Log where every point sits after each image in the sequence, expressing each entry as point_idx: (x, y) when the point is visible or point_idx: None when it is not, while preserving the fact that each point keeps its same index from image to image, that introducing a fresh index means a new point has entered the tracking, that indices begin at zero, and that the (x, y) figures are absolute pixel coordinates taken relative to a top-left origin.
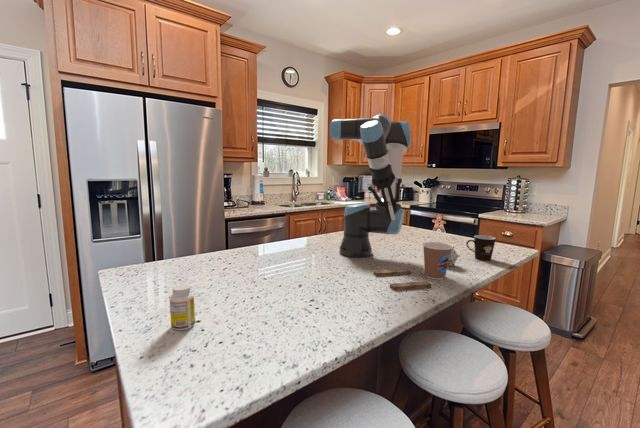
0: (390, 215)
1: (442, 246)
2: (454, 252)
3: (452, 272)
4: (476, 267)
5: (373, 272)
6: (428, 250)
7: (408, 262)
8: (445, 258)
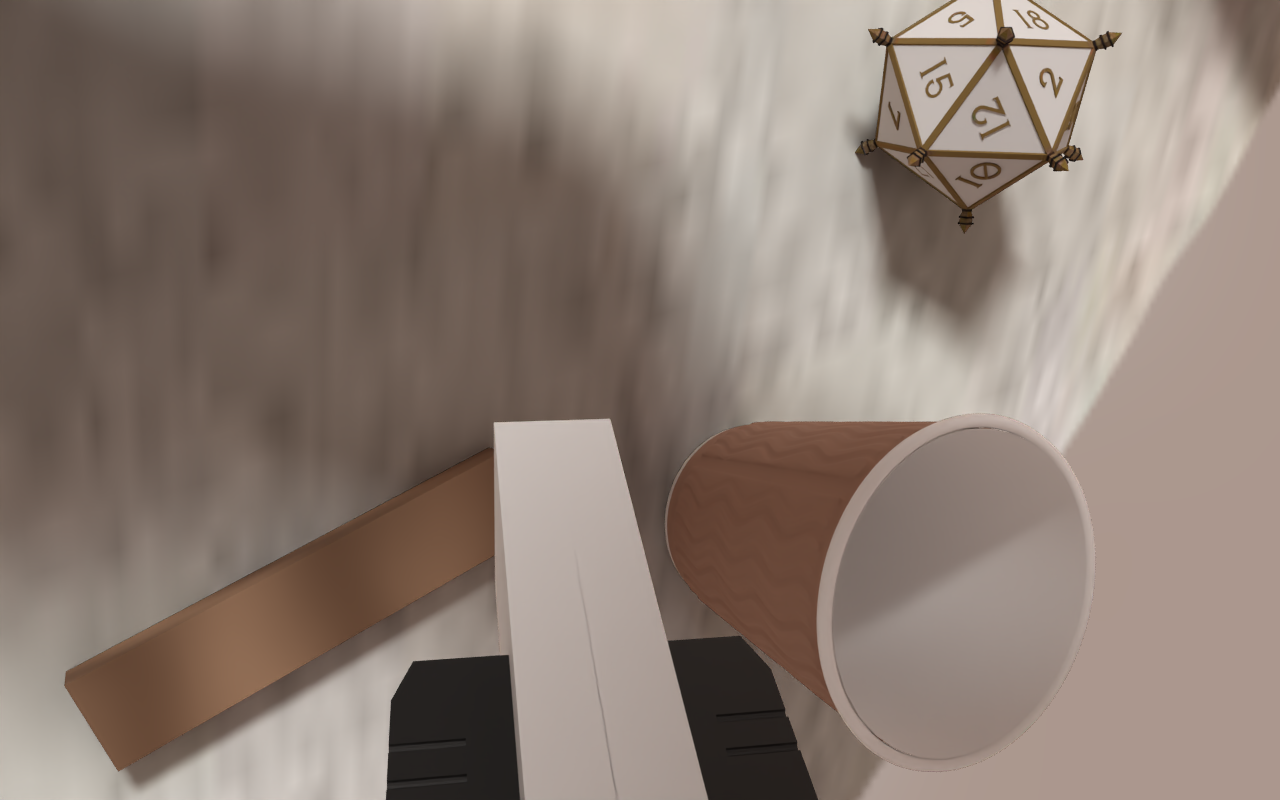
0: (501, 624)
1: (1011, 452)
2: (1065, 134)
3: (901, 344)
4: (1104, 136)
5: (66, 678)
6: (837, 711)
7: (537, 60)
8: (937, 668)
